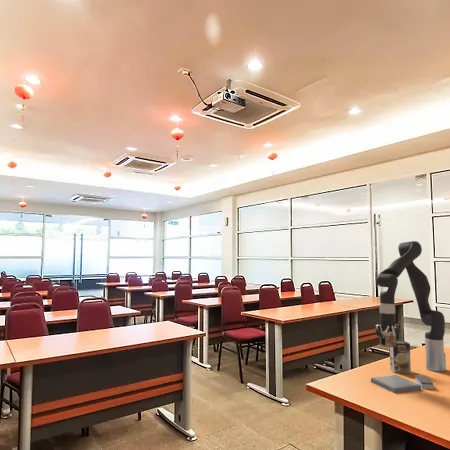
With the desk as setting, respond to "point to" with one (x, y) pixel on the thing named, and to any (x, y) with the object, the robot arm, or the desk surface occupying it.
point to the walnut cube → (390, 341)
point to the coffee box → (400, 357)
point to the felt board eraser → (424, 381)
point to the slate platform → (395, 383)
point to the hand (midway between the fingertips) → (388, 344)
